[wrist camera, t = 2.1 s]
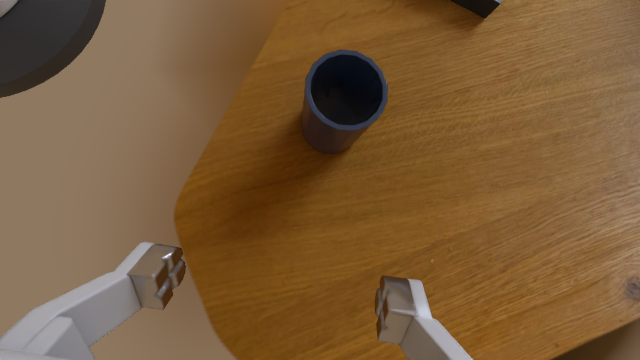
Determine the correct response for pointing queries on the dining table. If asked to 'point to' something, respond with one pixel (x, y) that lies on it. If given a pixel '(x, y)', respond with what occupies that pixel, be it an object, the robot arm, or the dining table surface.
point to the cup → (341, 100)
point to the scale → (480, 6)
